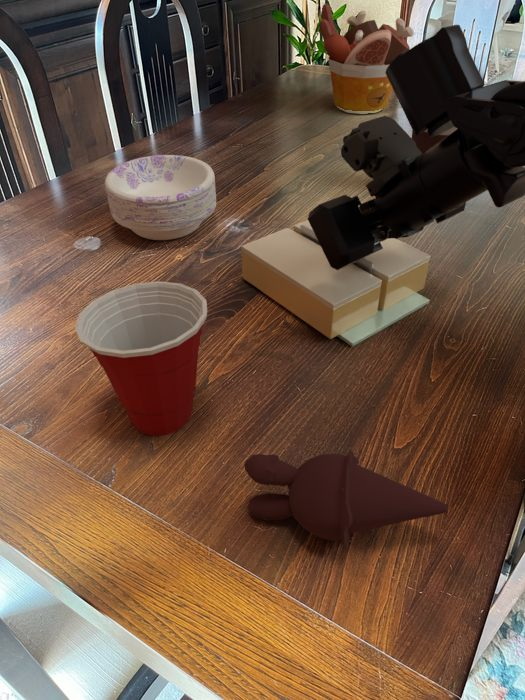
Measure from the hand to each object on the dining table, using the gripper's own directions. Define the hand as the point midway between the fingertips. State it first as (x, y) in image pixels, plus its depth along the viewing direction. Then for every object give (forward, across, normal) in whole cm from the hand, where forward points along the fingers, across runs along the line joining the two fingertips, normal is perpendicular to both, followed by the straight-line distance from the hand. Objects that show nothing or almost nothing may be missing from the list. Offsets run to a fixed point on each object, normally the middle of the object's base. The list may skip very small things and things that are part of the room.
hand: (345, 240), depth 64 cm
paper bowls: (+26, +8, -15) cm, 31 cm away
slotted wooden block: (+6, 0, +4) cm, 7 cm away
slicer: (+6, 0, +4) cm, 7 cm away
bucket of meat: (+41, -55, -30) cm, 75 cm away
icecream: (-11, +23, +21) cm, 33 cm away
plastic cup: (+2, +28, +8) cm, 29 cm away
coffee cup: (+14, -33, -4) cm, 36 cm away
